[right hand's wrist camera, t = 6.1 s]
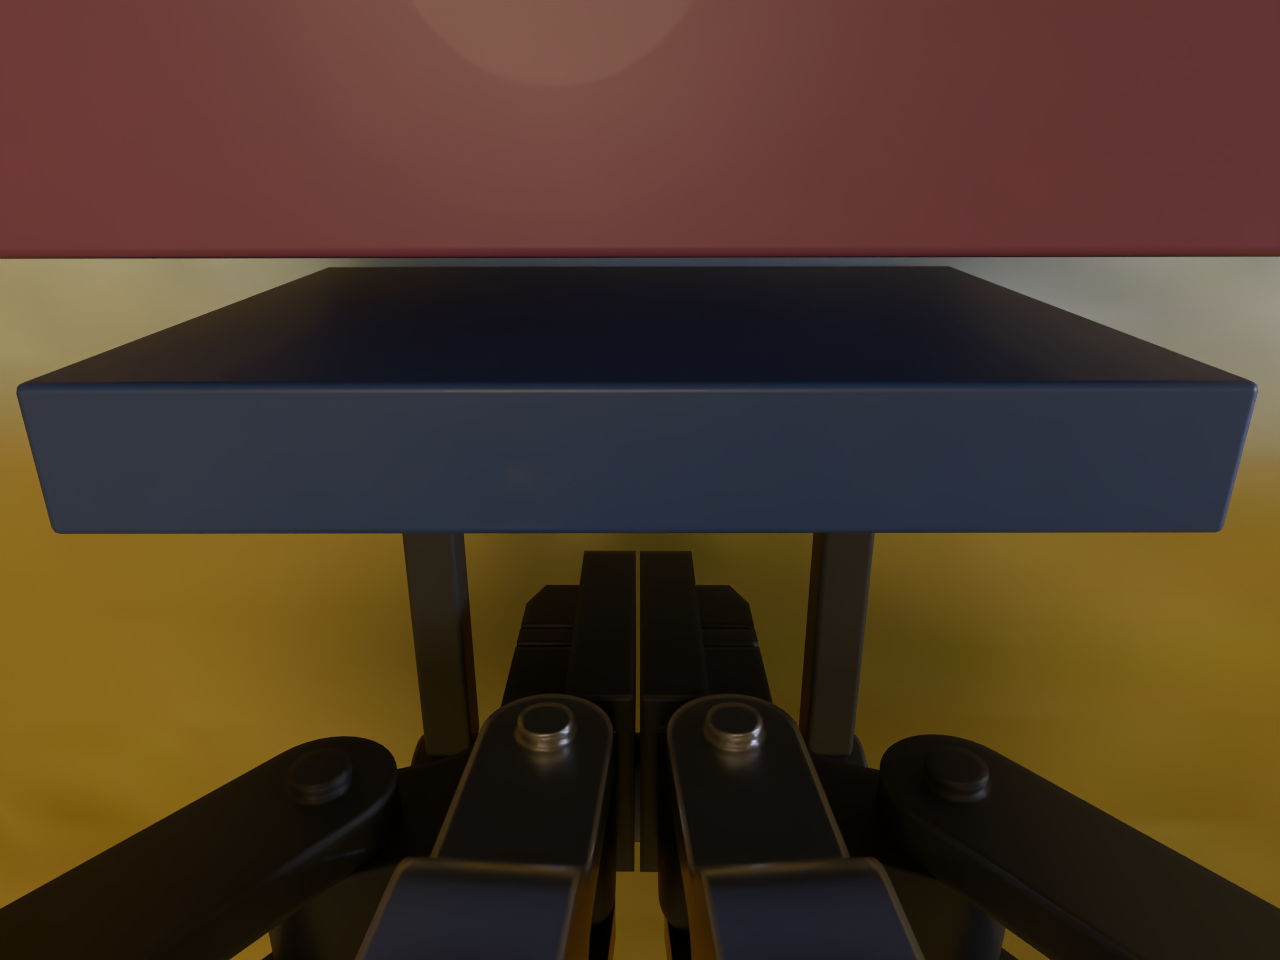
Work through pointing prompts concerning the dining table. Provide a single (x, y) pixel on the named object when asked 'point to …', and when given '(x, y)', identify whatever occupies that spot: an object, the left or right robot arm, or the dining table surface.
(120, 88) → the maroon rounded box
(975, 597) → the dining table surface
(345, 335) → the drawer
